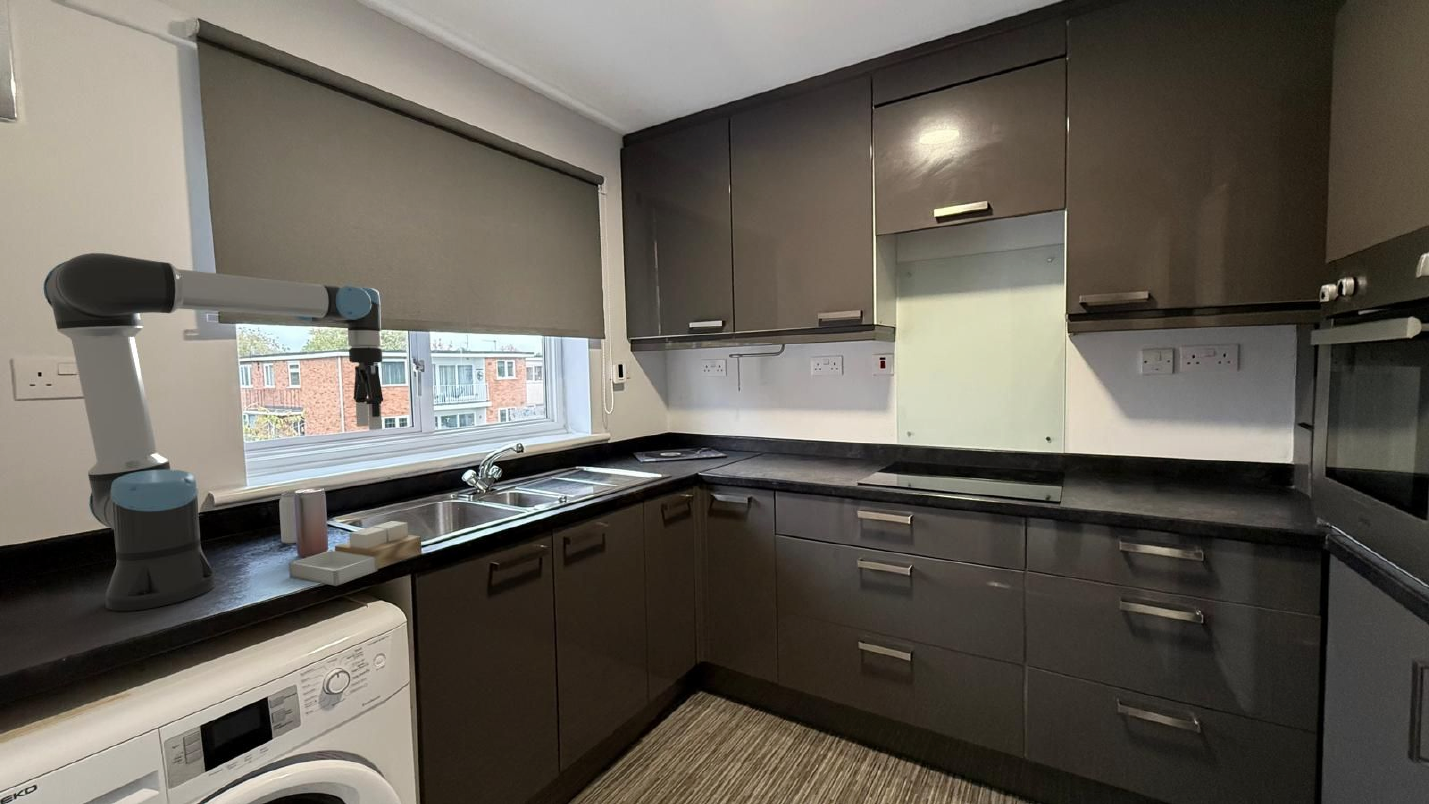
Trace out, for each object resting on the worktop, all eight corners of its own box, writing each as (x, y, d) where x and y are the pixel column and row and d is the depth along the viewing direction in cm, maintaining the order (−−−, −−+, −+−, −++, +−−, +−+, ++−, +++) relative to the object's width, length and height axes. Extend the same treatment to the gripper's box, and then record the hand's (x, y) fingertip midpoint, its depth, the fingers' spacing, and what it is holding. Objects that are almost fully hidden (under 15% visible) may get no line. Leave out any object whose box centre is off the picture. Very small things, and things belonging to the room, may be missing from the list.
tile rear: (388, 541, 131) (388, 528, 131) (373, 539, 133) (372, 526, 133) (407, 535, 136) (407, 522, 135) (392, 533, 138) (391, 520, 137)
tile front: (366, 548, 126) (365, 535, 126) (350, 546, 128) (349, 532, 128) (386, 542, 131) (386, 528, 130) (371, 540, 132) (370, 527, 132)
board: (374, 570, 124) (373, 551, 124) (335, 563, 128) (334, 546, 128) (421, 553, 135) (420, 536, 135) (384, 548, 140) (383, 531, 139)
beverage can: (291, 556, 134) (287, 492, 133) (317, 548, 140) (313, 487, 139) (308, 559, 132) (304, 493, 131) (334, 551, 137) (331, 488, 136)
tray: (336, 585, 115) (335, 571, 115) (289, 577, 120) (289, 562, 120) (377, 570, 124) (376, 557, 123) (332, 563, 129) (331, 550, 129)
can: (296, 545, 143) (293, 496, 142) (274, 543, 144) (272, 495, 144) (319, 537, 149) (316, 491, 149) (298, 536, 151) (295, 490, 150)
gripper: (394, 346, 147) (397, 429, 148) (369, 349, 165) (373, 424, 166) (360, 345, 142) (364, 432, 143) (338, 348, 160) (342, 425, 161)
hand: (369, 428), depth 155 cm, fingers open, 13 cm apart
